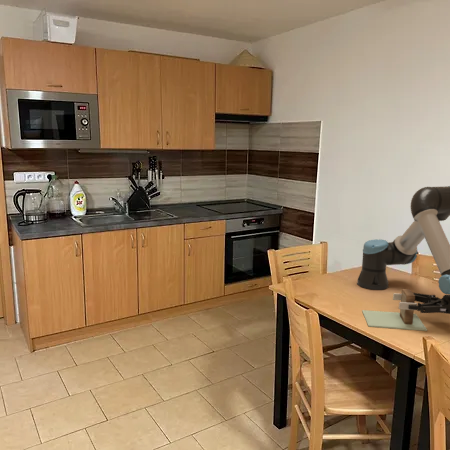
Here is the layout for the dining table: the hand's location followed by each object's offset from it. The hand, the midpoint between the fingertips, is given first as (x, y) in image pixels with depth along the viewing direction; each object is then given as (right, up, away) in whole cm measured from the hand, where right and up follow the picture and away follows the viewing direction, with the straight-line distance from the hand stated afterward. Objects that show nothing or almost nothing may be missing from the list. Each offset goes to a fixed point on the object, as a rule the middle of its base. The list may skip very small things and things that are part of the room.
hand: (396, 300), depth 172 cm
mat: (-1, -8, +2) cm, 9 cm away
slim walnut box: (+4, -8, +1) cm, 9 cm away
